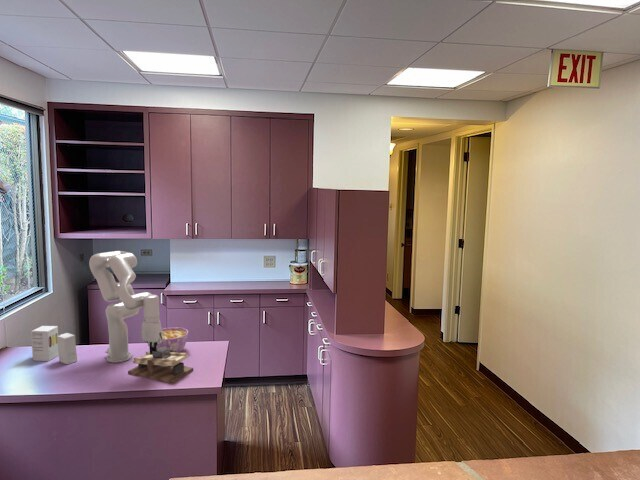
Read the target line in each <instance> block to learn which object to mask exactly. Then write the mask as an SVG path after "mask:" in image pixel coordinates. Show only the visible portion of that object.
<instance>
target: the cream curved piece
mask: <svg viewBox="0 0 640 480" xmlns="http://www.w3.org/2000/svg"><path fill="white" fill-rule="evenodd" d="M170 354H171V356H170V357H168V358H166V359H159V358H153V354H150V351H145V354H143V355H142V356H140V357H133V361H132V363H133V365H138V364H147V360H152V365H167V366H175V365H176V364H178V363H180V362H182V363H183V361H185V360H187V359H188V358H189V354H188V353H187V352H178V353H172V352H170ZM147 365H148V364H147Z"/></svg>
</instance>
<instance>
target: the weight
mask: <svg viewBox="0 0 640 480" xmlns="http://www.w3.org/2000/svg"><path fill="white" fill-rule="evenodd" d="M152 354H153V358H159V359H166V358H168V357H170V356H171V354H170V348H169V347H160V348H158V349H156V350H154V351H152Z"/></svg>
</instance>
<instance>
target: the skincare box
mask: <svg viewBox="0 0 640 480" xmlns="http://www.w3.org/2000/svg"><path fill="white" fill-rule="evenodd" d="M57 343H58V353H59V355H58V361H59V362H60V363H62V364H65V365H69V364H70V365H71V364H72V363H76V362H78V356H77V355H78V353H77V344H76V335H75V334H72V333H69V332H64V333H61V334H58V336H57Z"/></svg>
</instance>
